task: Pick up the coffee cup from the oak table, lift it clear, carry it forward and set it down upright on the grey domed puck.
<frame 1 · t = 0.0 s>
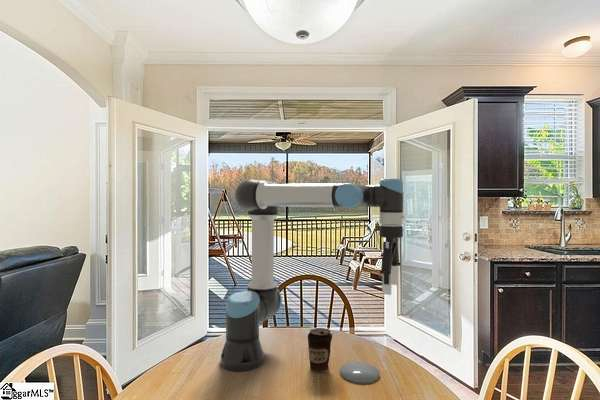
hand: (390, 289, 116), 28 cm above the table, tool pointing down, fingers open, 13 cm apart
coffee cup: (319, 369, 119), on the table
grey domed puck: (359, 373, 116), on the table
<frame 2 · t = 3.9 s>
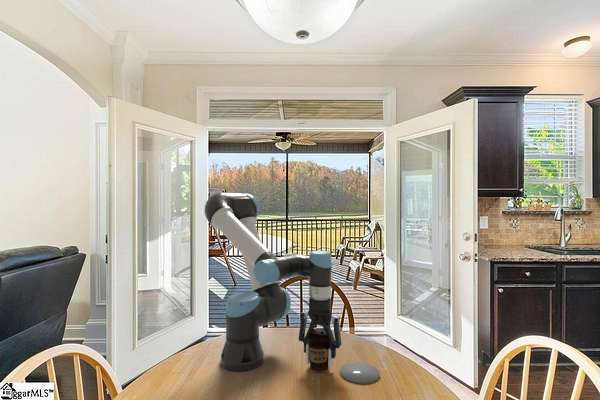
hand: (319, 364, 119), 2 cm above the table, tool pointing down, fingers closed on coffee cup, 7 cm apart
coffee cup: (319, 369, 119), on the table, touching gripper
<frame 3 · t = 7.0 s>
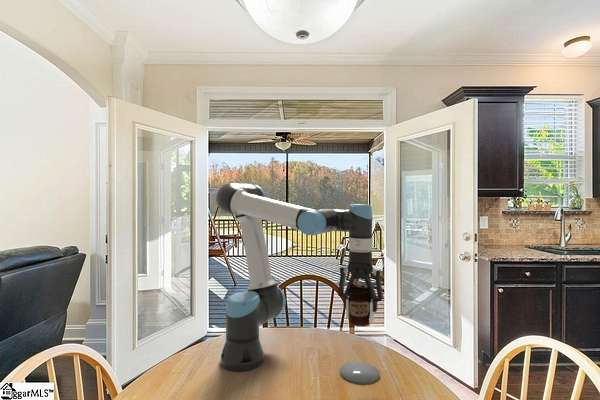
hand: (359, 319, 116), 18 cm above the table, tool pointing down, fingers closed on coffee cup, 7 cm apart
coffee cup: (360, 324, 116), point 16 cm above the table, touching gripper
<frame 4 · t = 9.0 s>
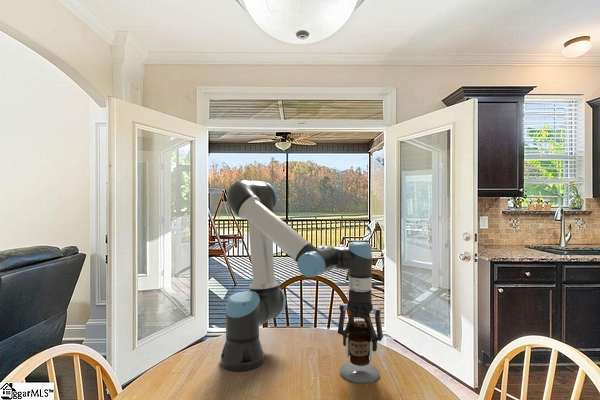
hand: (359, 357, 116), 5 cm above the table, tool pointing down, fingers closed on coffee cup, 7 cm apart
coffee cup: (359, 363, 116), point 3 cm above the table, touching gripper
when the fingers open (4 cm above the table, at t = 10.3 s): coffee cup drops 1 cm, resting on grey domed puck.
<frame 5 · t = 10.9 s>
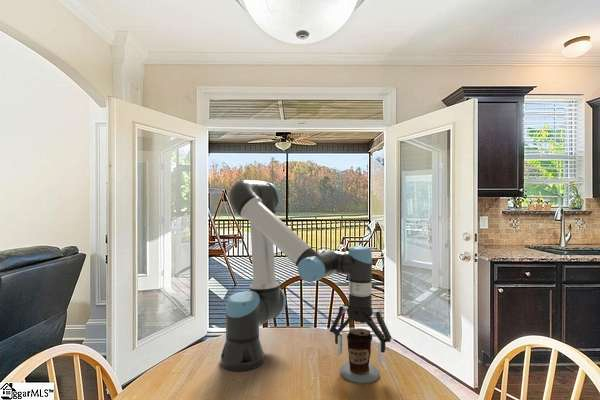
hand: (359, 357, 116), 5 cm above the table, tool pointing down, fingers open, 13 cm apart
coffee cup: (359, 371, 116), point 1 cm above the table, touching grey domed puck
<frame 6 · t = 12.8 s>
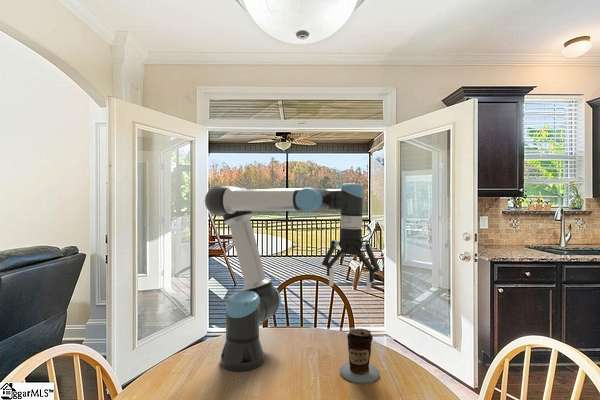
hand: (349, 288, 122), 26 cm above the table, tool pointing down, fingers open, 13 cm apart
nothing on the table moved.
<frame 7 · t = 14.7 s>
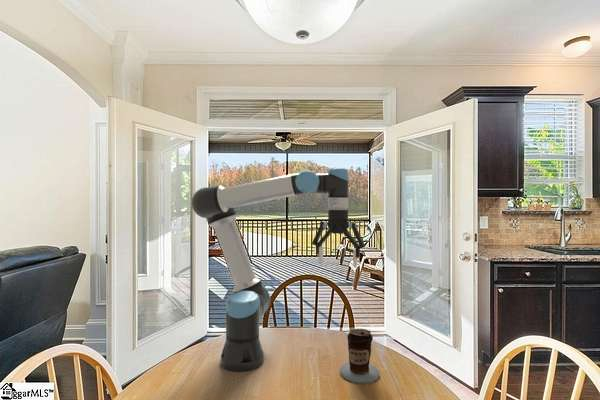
hand: (337, 265, 133), 33 cm above the table, tool pointing down, fingers open, 13 cm apart
nothing on the table moved.
at the end: coffee cup inside the target area on the grey domed puck (0.1 cm from its centre), point 0.6 cm above the grey domed puck's base; coffee cup tilted 0°; the gripper is holding nothing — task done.
